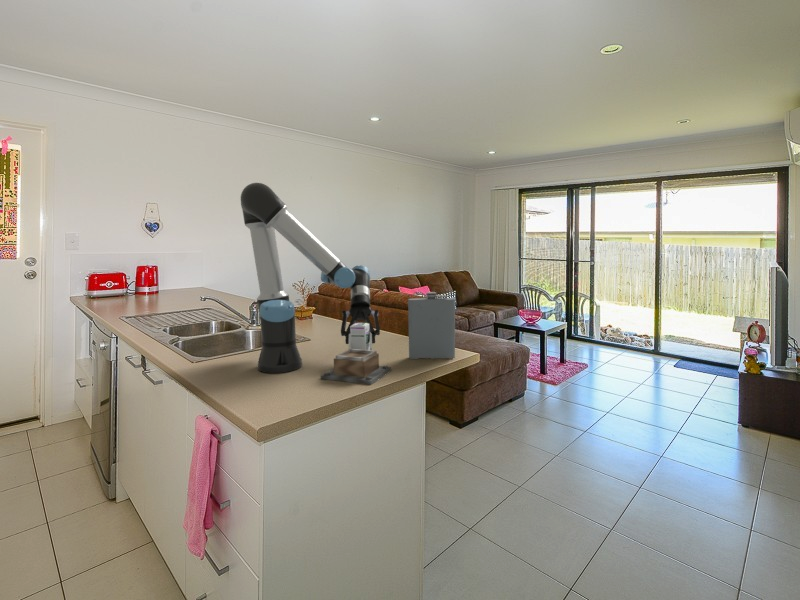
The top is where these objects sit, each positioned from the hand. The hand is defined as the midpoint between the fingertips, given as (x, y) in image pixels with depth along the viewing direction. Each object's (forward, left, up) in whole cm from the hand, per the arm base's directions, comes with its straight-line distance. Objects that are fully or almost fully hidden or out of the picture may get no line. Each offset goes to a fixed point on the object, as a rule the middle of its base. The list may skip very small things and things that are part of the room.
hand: (360, 350), depth 151 cm
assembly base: (+4, -10, -5) cm, 12 cm away
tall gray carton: (+21, +19, -6) cm, 29 cm away
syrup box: (-1, +3, -6) cm, 7 cm away
